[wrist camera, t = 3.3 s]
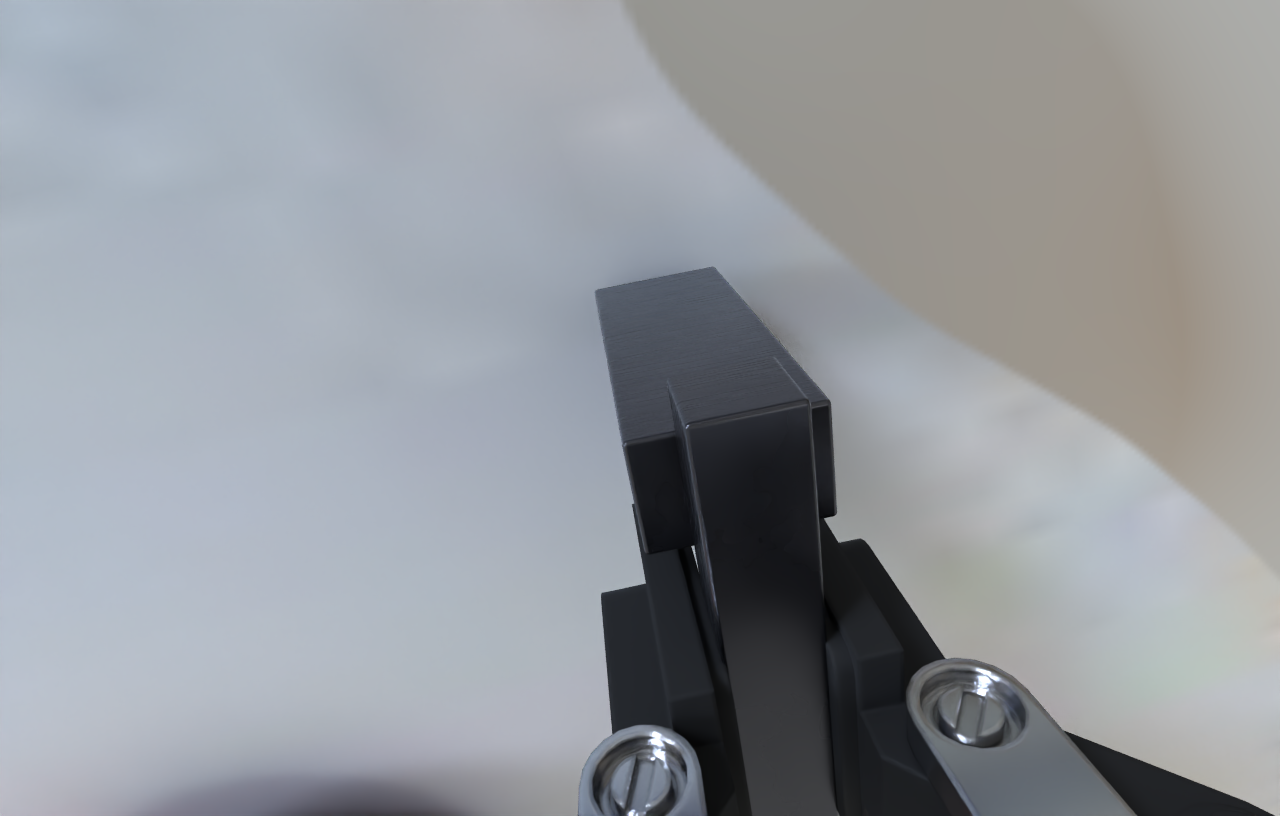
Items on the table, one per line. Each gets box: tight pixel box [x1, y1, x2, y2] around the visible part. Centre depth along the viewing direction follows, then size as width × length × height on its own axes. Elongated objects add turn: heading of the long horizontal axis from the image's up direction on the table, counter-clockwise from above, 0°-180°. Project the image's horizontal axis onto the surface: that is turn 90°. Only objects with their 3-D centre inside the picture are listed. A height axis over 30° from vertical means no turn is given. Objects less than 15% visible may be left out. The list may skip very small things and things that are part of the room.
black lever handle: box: [595, 267, 839, 816], centre depth 14 cm, size 21×5×8 cm, turn 10°
